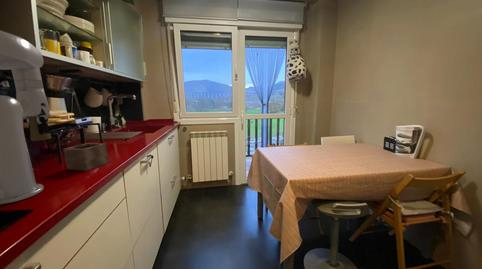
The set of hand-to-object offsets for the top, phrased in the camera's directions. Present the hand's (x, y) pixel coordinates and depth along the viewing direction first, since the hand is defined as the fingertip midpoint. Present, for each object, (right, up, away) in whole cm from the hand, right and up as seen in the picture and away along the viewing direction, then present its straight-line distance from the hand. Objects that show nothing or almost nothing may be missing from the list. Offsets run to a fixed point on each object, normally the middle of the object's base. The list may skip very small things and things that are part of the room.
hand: (40, 133), depth 83 cm
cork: (0, -2, 0) cm, 2 cm away
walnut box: (+10, -14, +13) cm, 22 cm away
